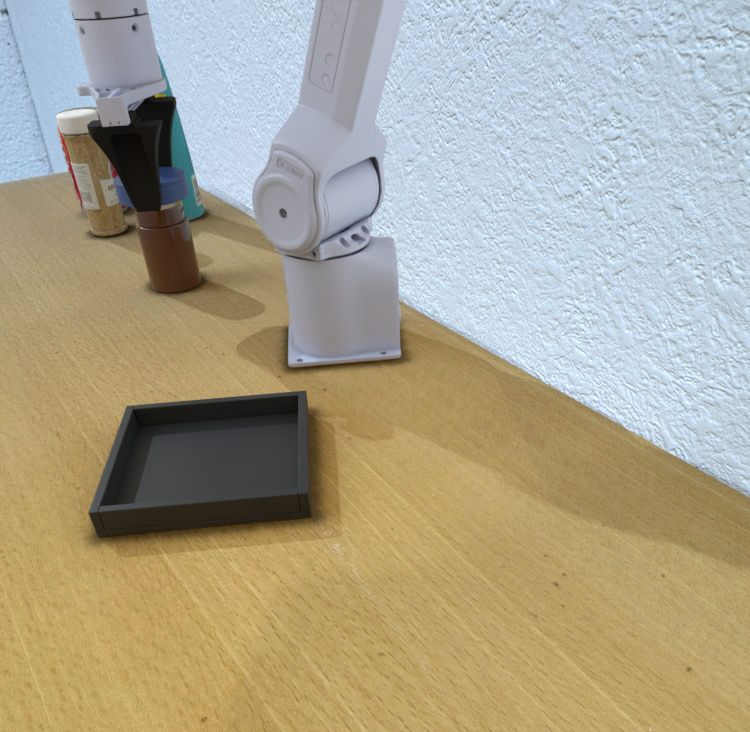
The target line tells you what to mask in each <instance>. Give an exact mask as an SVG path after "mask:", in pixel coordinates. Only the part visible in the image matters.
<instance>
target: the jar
mask: <svg viewBox="0 0 750 732" xmlns="http://www.w3.org/2000/svg"><path fill="white" fill-rule="evenodd" d="M132 210H133V211H134V212H135V213H134V214H135V216H136V222H135V230H136V232H137V236H138V240H139V243H140V244H139V245H140V247H141V252H142V255H143V259H144V263H145V267H146V271H147V274H148V279H149V282H150V286H151V288H152V290H153V291H155V292H158V293H161V294H162V293H163V294H174V293H181V292H182V293H183V292H186V291H188V290H192V289H194V288H196V287H197V286H199V285H200V284H201V282H202V277H201V272H200V271H201V270H200V267H199V262H198V258H197V252H196V247H195V243H194V238H193V234H192V229H191V225H190V220H189V219H188V216H187V215H185V214H184V206H183V205H182V201H181V200H180V201H178V202H175V203H172V204H168V205H163V206H161V210H159V211H149V212H137V211H136V210H135V208H133V209H132Z"/></svg>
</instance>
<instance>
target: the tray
mask: <svg viewBox="0 0 750 732" xmlns="http://www.w3.org/2000/svg"><path fill="white" fill-rule="evenodd" d="M310 437H311V436H310V410H309V403H308V394H307V390H299V391H298V390H294V391H283V392H282V391H281V392H272V393H261V394H260V393H259V394H248V395H247V394H246V395H237V396H225V397H214V398H213V397H212V398H203V399H202V398H201V399H189V400H181V401H180V400H179V401H178V400H177V401H166V402H155V403H143V404H135V405H134V404H132V405H126V406H125V409H124V412H123V415H122V418H121V420H120V424H119V426H118V429H117V432H116V434H115V437H114V440H113V442H112V445H111V448H110V452H109V454H108V457H107V459H106V463H105V465H104V468H103V471H102V473H101V476H100V479H99V481H98V485H97V486H96V487H97V488H96V491H95V493H94V495H93V499H92V501H91V503H90V507H89V510H88V516H89V518H90V521H91V523H92V525H93V528H94V530H95V533H96V536H97V537H98V538H104V537H105V538H106V537H116V536H126V535H127V536H128V535H137V534H150V533H157V532H158V533H159V532H160V533H161V532H169V531H181V530H192V529H202V528H212V527H224V526H234V525H244V524H256V523H266V522H276V521H288V520H299V519H309V518H312V516H313V515H312V483H311V482H312V481H311V438H310Z"/></svg>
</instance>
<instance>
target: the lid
mask: <svg viewBox="0 0 750 732" xmlns="http://www.w3.org/2000/svg"><path fill="white" fill-rule="evenodd" d="M159 175H160V184H161V195H162V204H161V206H163V205H168V204H172V203H175V202H178V201H180V200H182V199H184V198H186V197H187V196H188V195H189V189H188V184H187V179H186V175H185V171H184V170H183V169H181V168H176V167H159ZM113 182H114V185H115V189H116V193H117V196H118V200H119V203H120V204H121V205H123V206H126V207H128V208H134V206H133V204H132V203H131V201H130V199H129V197H128V195H127V192H126V190H125V188H124V186H123V184H122V182H121V180H120V178H119V176H117V177H116V178H115V179H114V181H113Z"/></svg>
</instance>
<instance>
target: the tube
mask: <svg viewBox="0 0 750 732" xmlns="http://www.w3.org/2000/svg"><path fill="white" fill-rule="evenodd" d="M157 54H158V59H159V64H160V68H161V73H162V76H163V77H164V78H165V80H166V85H167V89H166V90H165V91H163V92H161V93H158V94H156V95H155V98H156V97H165V96H173V97H174V94H173V92H172V91H173V90H172V88H171V85H170V82H169V78H168V76H167V73H166V70H165V68H164V64H163V62H162V59H161V57H160V55H159V53H158V52H157ZM171 146H172V167H176V168H181V169H183V170H184V171H185V175H186V179H187V184H188V189H189V195H188V196H187V197H186V198H184V199H182V200H181V201H182V205H183V206H184V214H185V215H187V216H188V219H189V221H191V220H195V219H198V218H200V217H202V216H203V215H204V214H205V208H204V204H203V199H202V195H201V191H200V188H199V184H198V179H197V175H196V172H195V169H194V164H193V160H192V157H191V153H190V149H189V145H188V142H187V137H186V135H185V132H184V128H183V124H182V120H181V117H180V114H179V111H178V107H177V106H176V109H175V113H174V118H173V125H172V141H171Z"/></svg>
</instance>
